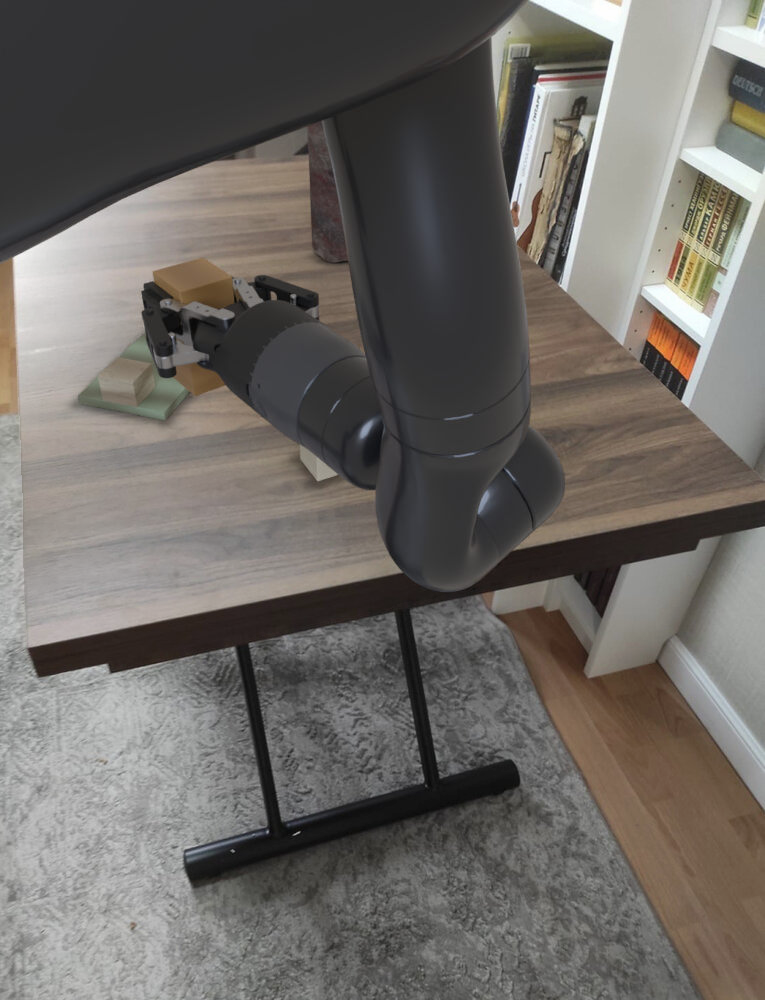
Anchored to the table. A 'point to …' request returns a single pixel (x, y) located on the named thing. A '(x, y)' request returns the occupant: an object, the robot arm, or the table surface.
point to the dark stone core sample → (324, 200)
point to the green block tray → (135, 385)
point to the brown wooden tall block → (204, 287)
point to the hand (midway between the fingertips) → (178, 285)
